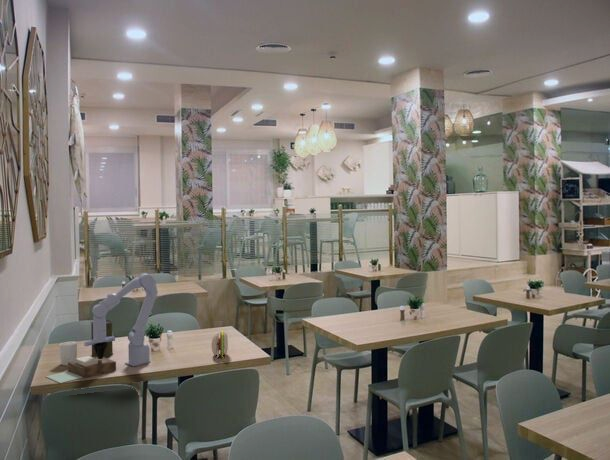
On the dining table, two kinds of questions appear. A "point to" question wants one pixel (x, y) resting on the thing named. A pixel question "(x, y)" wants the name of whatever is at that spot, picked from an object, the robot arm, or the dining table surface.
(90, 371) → the board
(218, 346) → the hamburger
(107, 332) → the canister
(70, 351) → the white cup
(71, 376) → the mat
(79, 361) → the card
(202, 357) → the dining table surface
